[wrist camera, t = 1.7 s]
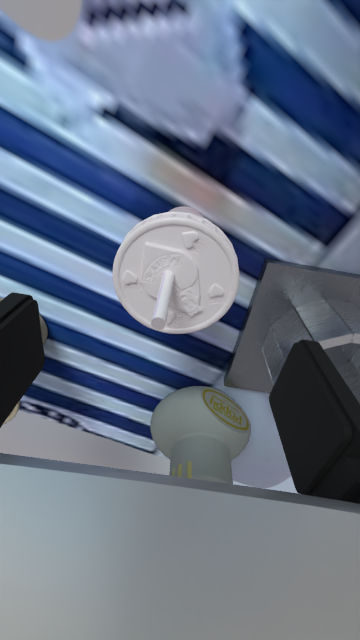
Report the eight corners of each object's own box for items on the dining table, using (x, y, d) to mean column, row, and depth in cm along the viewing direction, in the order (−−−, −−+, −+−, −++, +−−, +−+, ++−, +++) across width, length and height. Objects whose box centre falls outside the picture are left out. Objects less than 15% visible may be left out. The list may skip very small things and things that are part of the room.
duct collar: (265, 258, 22) (285, 291, 17) (426, 286, 23) (491, 326, 18) (223, 378, 30) (229, 426, 25) (345, 397, 31) (375, 447, 26)
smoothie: (196, 167, 19) (195, 202, 7) (238, 243, 22) (287, 357, 10) (126, 219, 21) (40, 310, 10) (173, 282, 24) (150, 414, 12)
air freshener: (257, 409, 33) (278, 502, 24) (209, 440, 36) (213, 529, 28) (187, 363, 29) (183, 451, 21) (142, 401, 33) (124, 490, 24)
